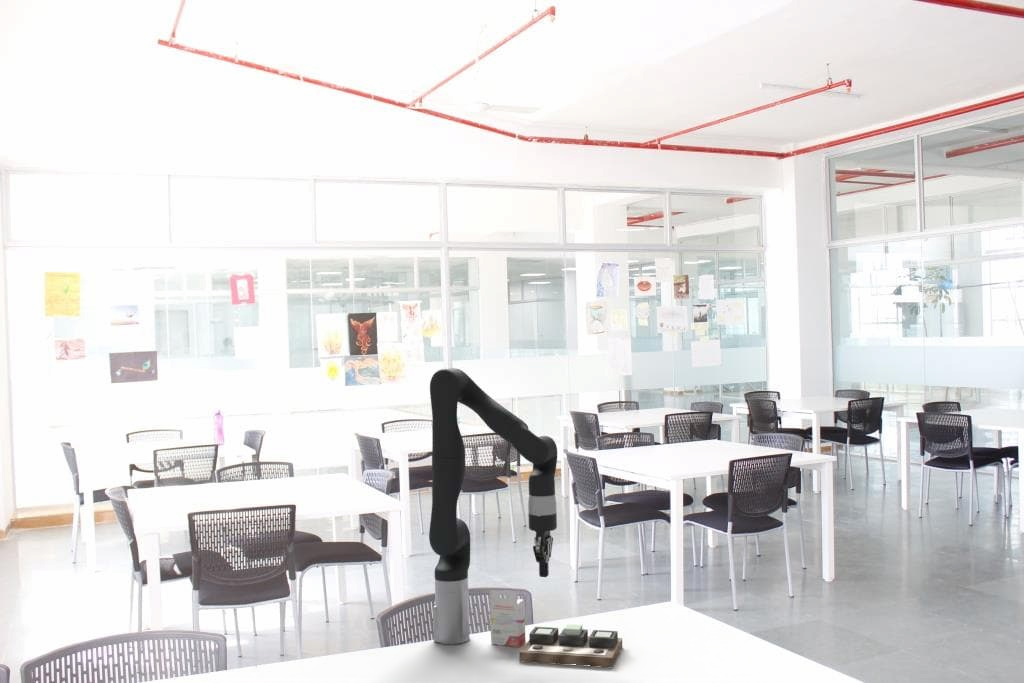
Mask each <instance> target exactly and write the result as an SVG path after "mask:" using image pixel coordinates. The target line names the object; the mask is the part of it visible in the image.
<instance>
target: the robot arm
mask: <svg viewBox="0 0 1024 683" xmlns="http://www.w3.org/2000/svg"><path fill="white" fill-rule="evenodd" d="M429 394H430V405H431V417H432V419H431V420H432V429H431V430H432V431H431V433H432V436H431V438H432V442H431V443H432V444H431V445H432V446H431V451H432V452H431V471H432V472H431V474H432V478H431V479H432V480H431V481H432V482H431V501H432V502H431V514H430V524H429V532H428V537H429V538H428V541H429V545H430V547H431V549H432V551H433V552H434V553H435V555H438V556H439V559H438V562H437V565H436V566H435V568H434V594H435V595H434V596H435V599H434V602H435V605H434V606H433V607H432V620H433V621H432V622H433V623H432V624H433V642H435V643H439V644H443V645H460V644H463V643H467V642H468V641H469V640H470V631H471V630H470V607H469V604H470V603H469V600H470V599H469V578H468V577H469V574H468V573H469V569H470V565H471V533H470V530H469V526H468V525H467V523H466V522H465V521H463V519H460V518H458V516H457V510H458V509H457V508H458V501H459V496H460V493H461V490H462V487H463V483H464V480H465V474H466V447H465V442H464V439H463V437H462V434H461V431H460V427H459V424H458V403H460V404H462V405H463V406H465V407H467V408H469V409H471V410H472V411H473V412H475V414H477V416H479V418H480V419H481V420H482V421H483V422H484V424H485V425H486V426H487V427H488V428H489V429H490V430H491V431H492V432H493V433H495V434H496V435H498V436H499V437H500V438H502V439H503V440H504V441H505V442H507V443H509V444H510V445H511V446H512V447H513V448H514V449H515V450H516V451H517V452H518V453H519V455H520V456H522V458H524V459H525V460H526V461H528V462H529V463H531V464H532V471H531V472H530V474H529V477H528V504H527V506H528V508H527V510H528V529H529V530H530V531H532V532H533V531H534V532H535V537H534V540H533V543H534V545H533V546H532V550H533V555H534V557H535V561H536V563H538V569H539V570H538V571H539V572H538V575H539V577H541V578H547V577H548V576H549V575H550V574H549V572H550V570H549V562H550V560H551V559H550V558H551V556H552V549H553V542H554V537H553V536H552V535H551V532H553V531H555V530H557V528H558V524H557V523H558V521H557V520H558V519H557V518H558V517H557V499H556V482H555V481H556V480H555V476H556V471H557V462H558V447H557V443H556V442H555V440H554V439H553V438H552V437H550V436H548V435H540V436H538V435H536V434H535V433H534V432H532V431H531V430H530V429H529V426H528V424H527V423H526V422H525V421H524V420H522V419H521V418H520V417H518V416H517V415H516V414H514V413H512V412H511V411H509V410H508V409H507V408H506V407H504V406H502V405H501V404H500V403H498V402H497V401H496V400H495V399H493V398H492V397H491V396H490V395H489V394H488V393H486V391H484V390H483V389H482V388H481V387H480V386H479V385H478V384H477V383H476V382H475V381H474V380H473V379H472V377H470V376H469V375H468V374H467V373H466V372H465V371H463V370H462V369H459V368H457V367H456V368H452V367H451V368H442V369H438V370H437V371H435V372H434V373H433V375H432V377H431V379H430V382H429Z"/></svg>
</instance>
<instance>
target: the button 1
mask: <svg viewBox="0 0 1024 683" xmlns="http://www.w3.org/2000/svg"><path fill="white" fill-rule="evenodd" d="M552 632H553V629H538V630H537V631H536V632H535V633H540V634H551V633H552Z"/></svg>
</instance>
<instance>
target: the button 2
mask: <svg viewBox="0 0 1024 683" xmlns="http://www.w3.org/2000/svg"><path fill="white" fill-rule="evenodd" d="M594 637H610V638H611V637H612V632H597V633H596V635H595V636H594Z"/></svg>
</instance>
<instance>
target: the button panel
mask: <svg viewBox="0 0 1024 683" xmlns="http://www.w3.org/2000/svg"><path fill="white" fill-rule="evenodd" d="M538 629H553V632H552V633H551V634H540V633H535V632H536V631H537V630H538ZM588 631H589V630H588V629H584V628H582V634H581V636H575V635H564V628H563V629H562V630H561V632H560V631H559V627H547V626H534V628H533V629H532V630H531V631H530V633H529V637H528V638H529V639H528V641H527V642H525V645H524V646H523V647H522V648H521V649H520V651H519V662H520V661H524V662H523V663H530V662H537V663H536V664H546V663H556V664H555V665H561V664H576V665H590V666H589V667H591V666H601V667H600V668H606V667H613V668H614V666H613V665H615V664H616V662H615V661H617V660H616V659H618V658H617V657H619V656H618V655H620V654H621V652H620V651H622V650H623V638H622V637H618V634H619V633H618V631H617V630H603V629H600V630H599V629H593V630H592V632H591V633H590V635H589V632H588ZM559 632H560V633H559ZM597 632H612V637H611V638H610V637H594V636H595V635H596V633H597ZM621 649H622V650H621ZM619 653H620V654H619ZM558 663H559V664H558ZM614 663H615V664H614ZM576 665H575V666H576Z"/></svg>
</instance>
